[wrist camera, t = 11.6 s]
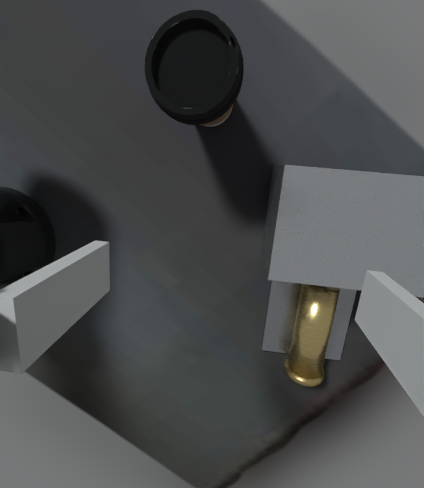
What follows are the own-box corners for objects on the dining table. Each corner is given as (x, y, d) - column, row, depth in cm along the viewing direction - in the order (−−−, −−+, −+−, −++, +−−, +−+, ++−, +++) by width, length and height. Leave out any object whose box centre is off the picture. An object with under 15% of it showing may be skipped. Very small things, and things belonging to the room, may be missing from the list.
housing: (248, 346, 46) (250, 400, 36) (273, 164, 38) (284, 164, 28) (352, 359, 45) (385, 419, 34) (398, 175, 37) (460, 179, 27)
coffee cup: (253, 120, 37) (259, 93, 23) (193, 147, 39) (164, 138, 25) (228, 52, 36) (219, -23, 21) (167, 84, 37) (120, 34, 23)
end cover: (281, 357, 45) (286, 383, 40) (295, 275, 42) (303, 292, 36) (318, 362, 45) (328, 389, 40) (335, 280, 41) (349, 297, 36)
